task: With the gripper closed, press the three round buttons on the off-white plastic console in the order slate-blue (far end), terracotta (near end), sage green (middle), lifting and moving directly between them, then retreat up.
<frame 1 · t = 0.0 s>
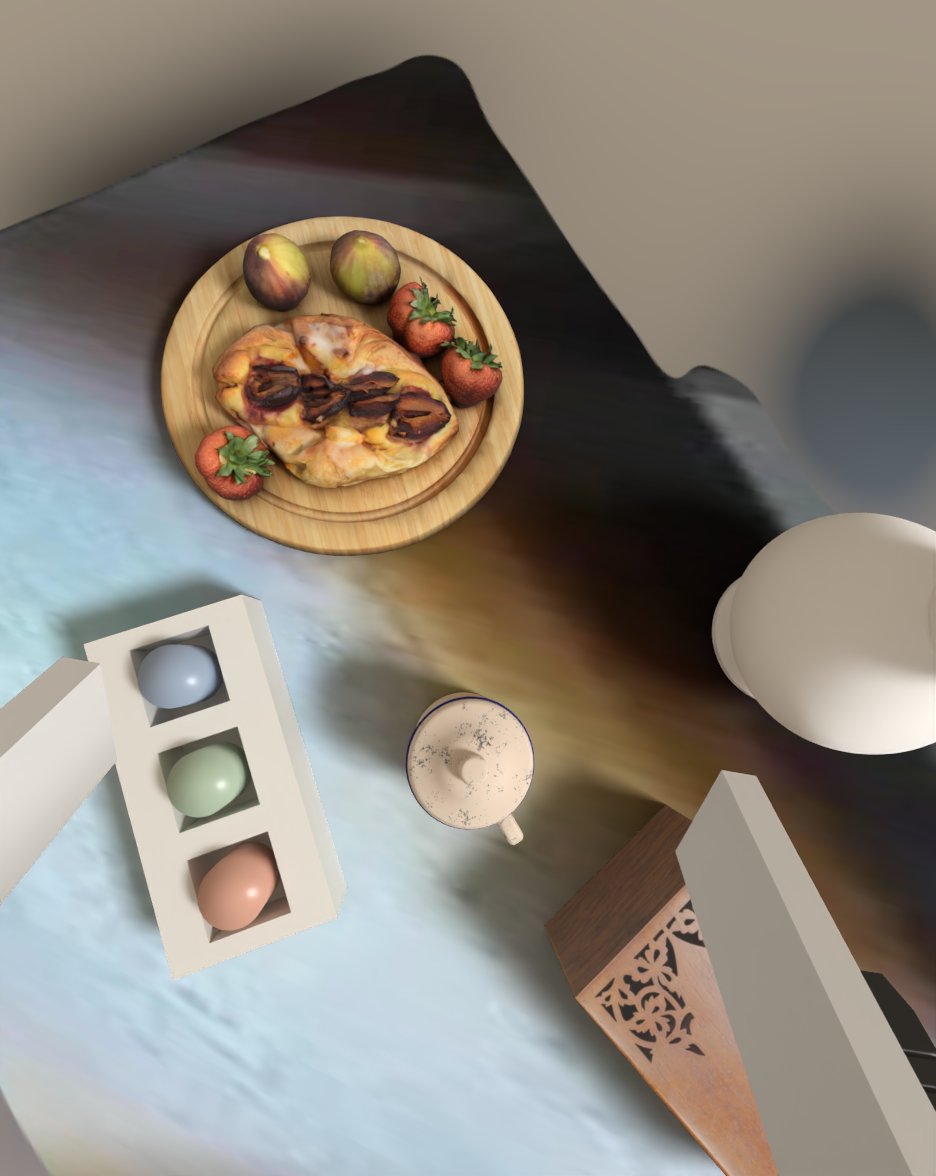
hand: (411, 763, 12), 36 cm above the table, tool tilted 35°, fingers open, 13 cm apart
wooden plate with food: (350, 390, 51), on the table
teacup with lid: (471, 757, 47), on the table
button terracotta: (241, 883, 40), point 5 cm above the table, slide at 0.0 cm
decorative vase: (776, 635, 50), on the table
button slate: (182, 675, 42), point 5 cm above the table, slide at 0.0 cm
tissue box cover: (706, 979, 47), on the table
button sage: (211, 777, 41), point 5 cm above the table, slide at 0.0 cm
console: (232, 765, 46), on the table
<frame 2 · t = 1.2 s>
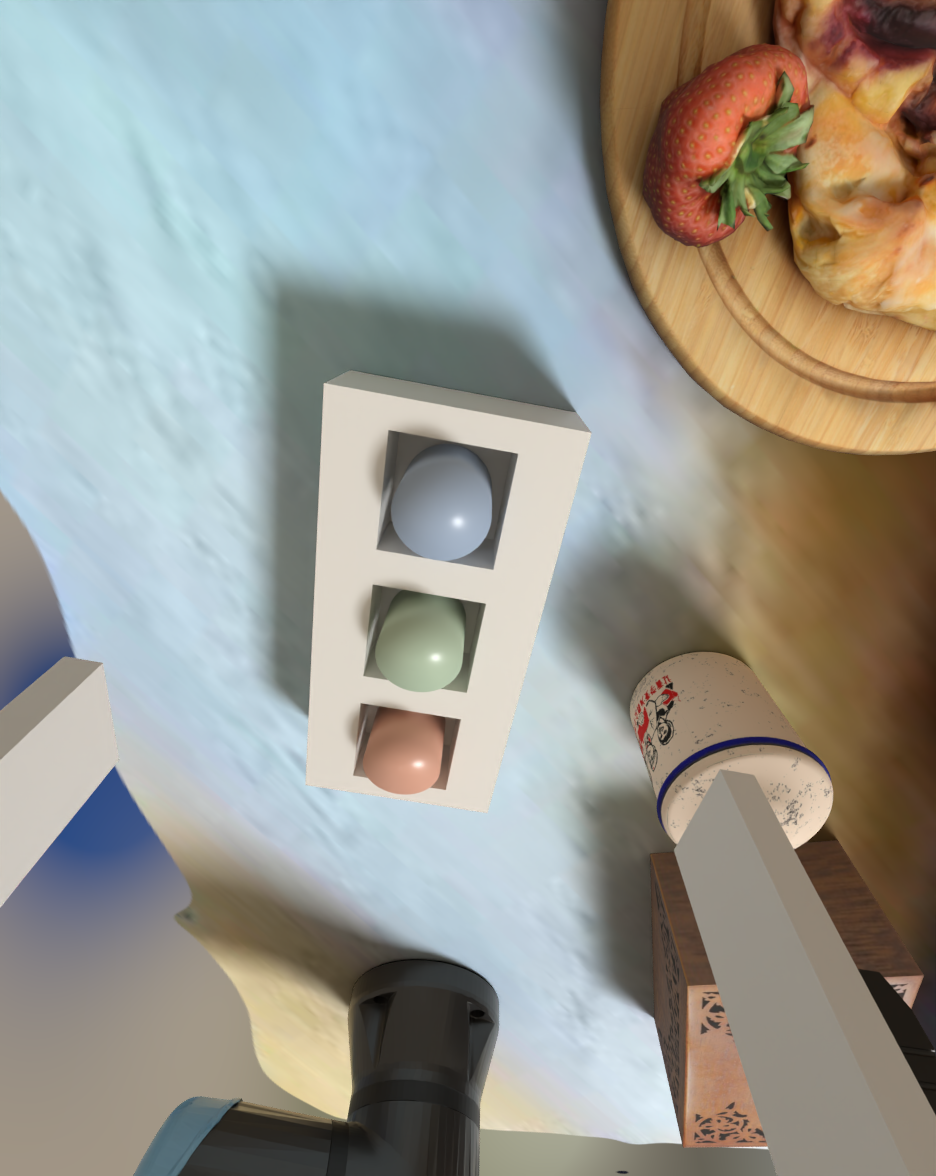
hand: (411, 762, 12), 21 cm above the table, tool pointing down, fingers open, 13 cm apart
teacup with lid: (688, 715, 38), on the table
button terracotta: (406, 742, 34), point 4 cm above the table, slide at 0.0 cm
button slate: (444, 500, 27), point 5 cm above the table, slide at 0.0 cm
tissue box cover: (731, 935, 50), on the table
button sage: (423, 636, 30), point 4 cm above the table, slide at 0.0 cm
console: (431, 597, 34), on the table
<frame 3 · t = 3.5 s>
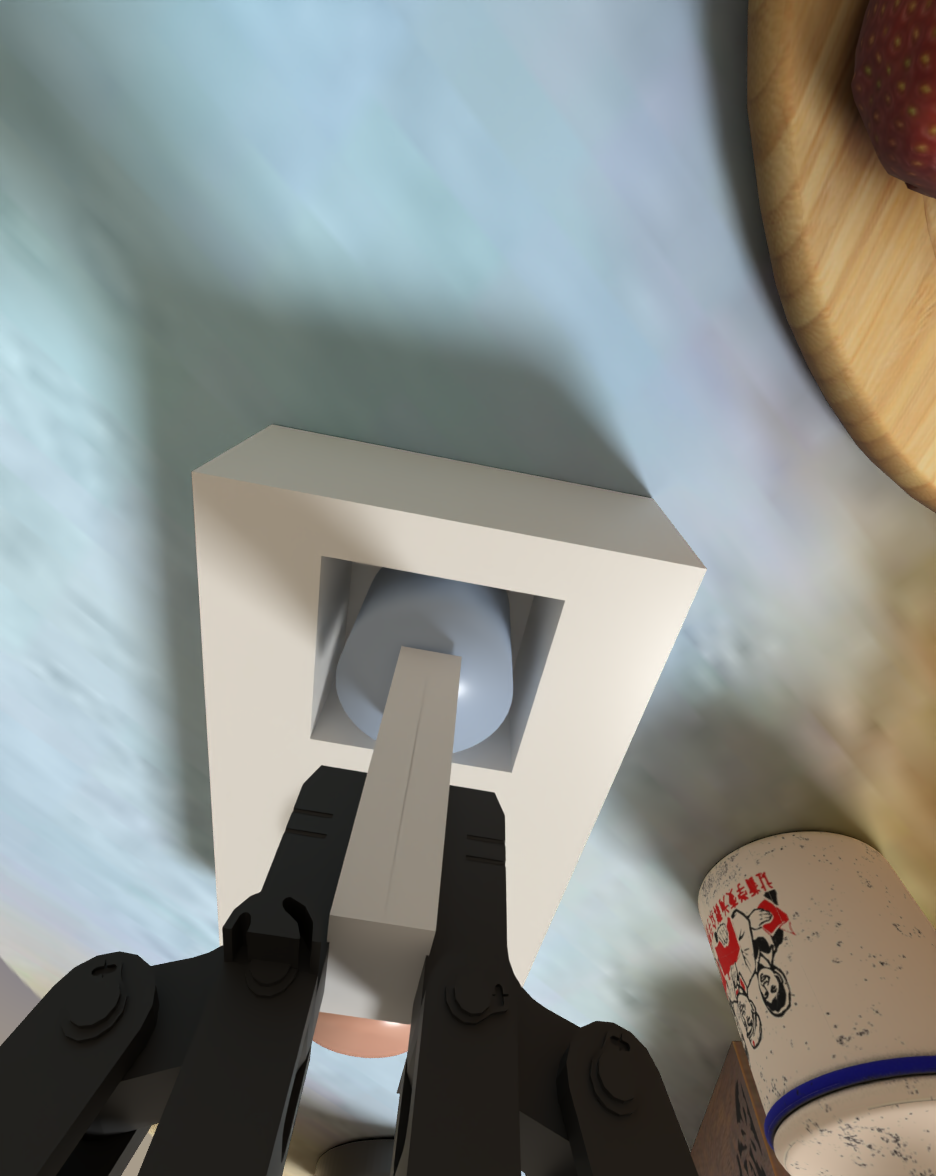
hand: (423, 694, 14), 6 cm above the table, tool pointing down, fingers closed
teacup with lid: (779, 902, 27), on the table
button terracotta: (371, 972, 23), point 4 cm above the table, slide at 0.0 cm
button slate: (431, 645, 16), point 4 cm above the table, slide at 0.9 cm, touching gripper
tissue box cover: (800, 1125, 39), on the table
console: (411, 752, 23), on the table
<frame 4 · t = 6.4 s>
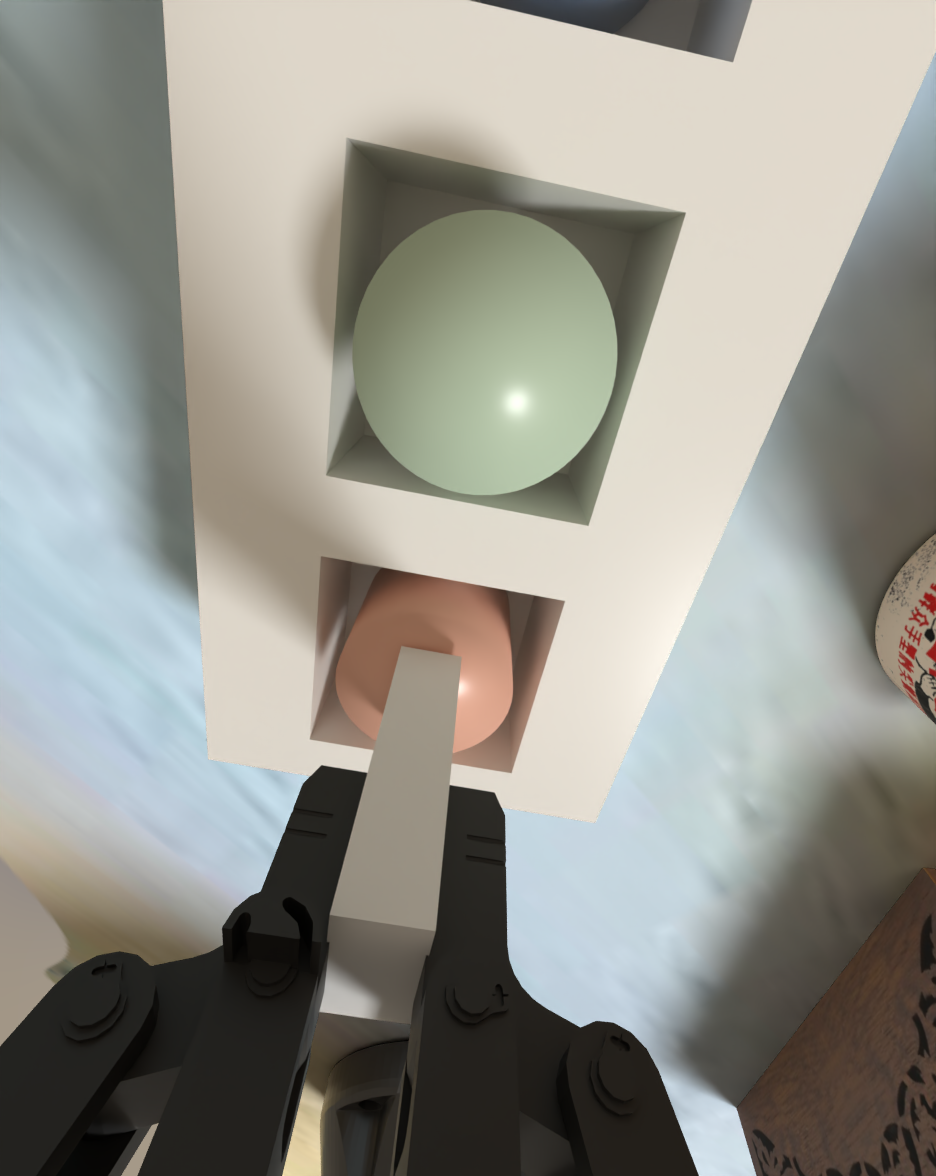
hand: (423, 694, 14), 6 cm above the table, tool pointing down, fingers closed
button terracotta: (431, 645, 16), point 4 cm above the table, slide at 0.9 cm, touching gripper
tissue box cover: (931, 1014, 31), on the table
button sage: (485, 357, 11), point 4 cm above the table, slide at 0.0 cm
console: (487, 340, 15), on the table
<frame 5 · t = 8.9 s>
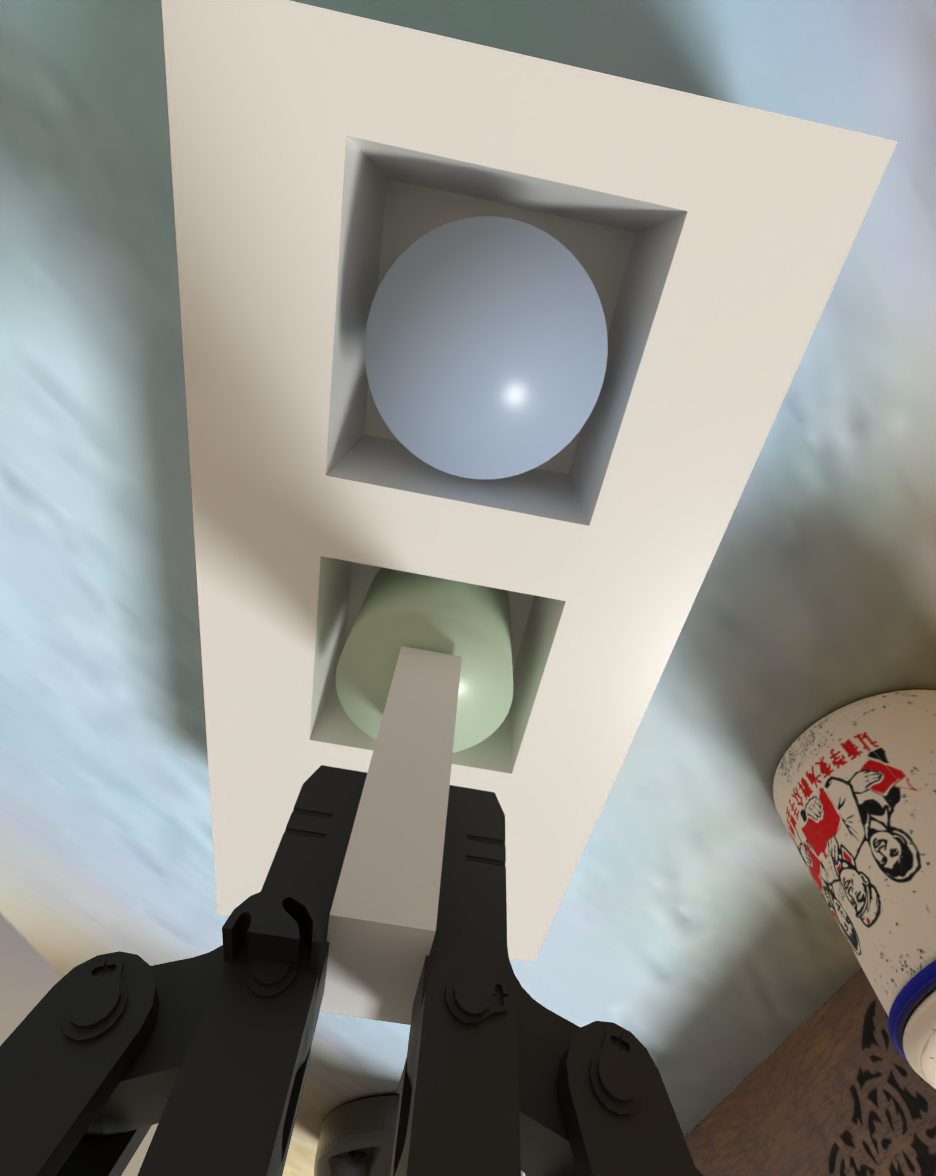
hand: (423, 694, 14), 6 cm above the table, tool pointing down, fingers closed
teacup with lid: (866, 790, 23), on the table
button slate: (486, 351, 12), point 3 cm above the table, slide at 1.0 cm
tissue box cover: (860, 1076, 35), on the table
button sage: (432, 645, 16), point 4 cm above the table, slide at 1.0 cm, touching gripper
console: (442, 587, 19), on the table
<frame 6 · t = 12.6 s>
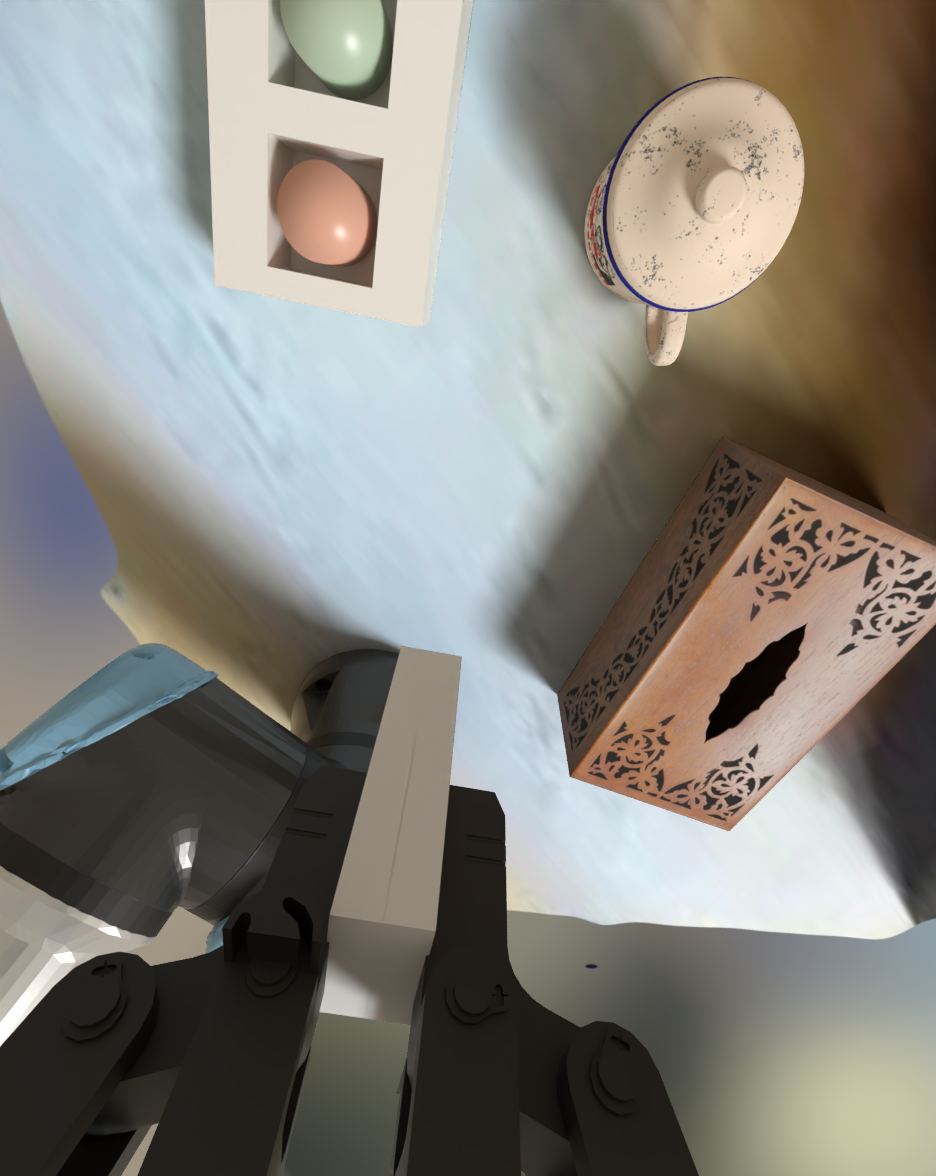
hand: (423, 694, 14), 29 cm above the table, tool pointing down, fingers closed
teacup with lid: (651, 251, 34), on the table
button terracotta: (330, 217, 31), point 3 cm above the table, slide at 1.0 cm
tissue box cover: (702, 610, 46), on the table
button sage: (340, 26, 27), point 3 cm above the table, slide at 1.0 cm
console: (355, 53, 30), on the table
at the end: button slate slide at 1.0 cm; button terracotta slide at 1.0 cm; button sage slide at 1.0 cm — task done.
